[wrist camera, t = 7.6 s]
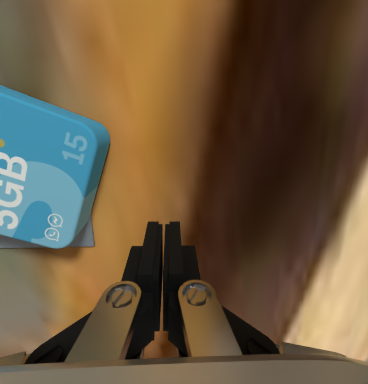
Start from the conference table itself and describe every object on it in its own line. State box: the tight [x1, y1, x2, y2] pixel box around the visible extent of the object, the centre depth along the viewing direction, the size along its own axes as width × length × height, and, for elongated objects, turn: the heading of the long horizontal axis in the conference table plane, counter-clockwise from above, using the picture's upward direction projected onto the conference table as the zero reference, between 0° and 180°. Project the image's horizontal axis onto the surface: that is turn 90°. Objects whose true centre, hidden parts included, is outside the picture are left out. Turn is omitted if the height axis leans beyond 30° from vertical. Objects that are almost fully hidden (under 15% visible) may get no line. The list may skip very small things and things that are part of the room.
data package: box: [0, 85, 110, 249], centre depth 20 cm, size 12×4×12 cm
